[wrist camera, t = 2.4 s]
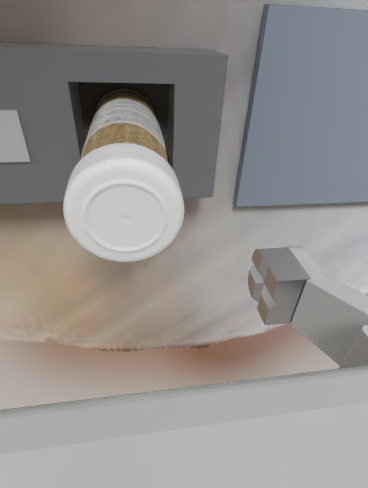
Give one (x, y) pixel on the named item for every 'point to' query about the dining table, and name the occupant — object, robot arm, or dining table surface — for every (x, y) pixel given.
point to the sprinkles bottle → (124, 183)
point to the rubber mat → (307, 110)
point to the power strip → (71, 120)
